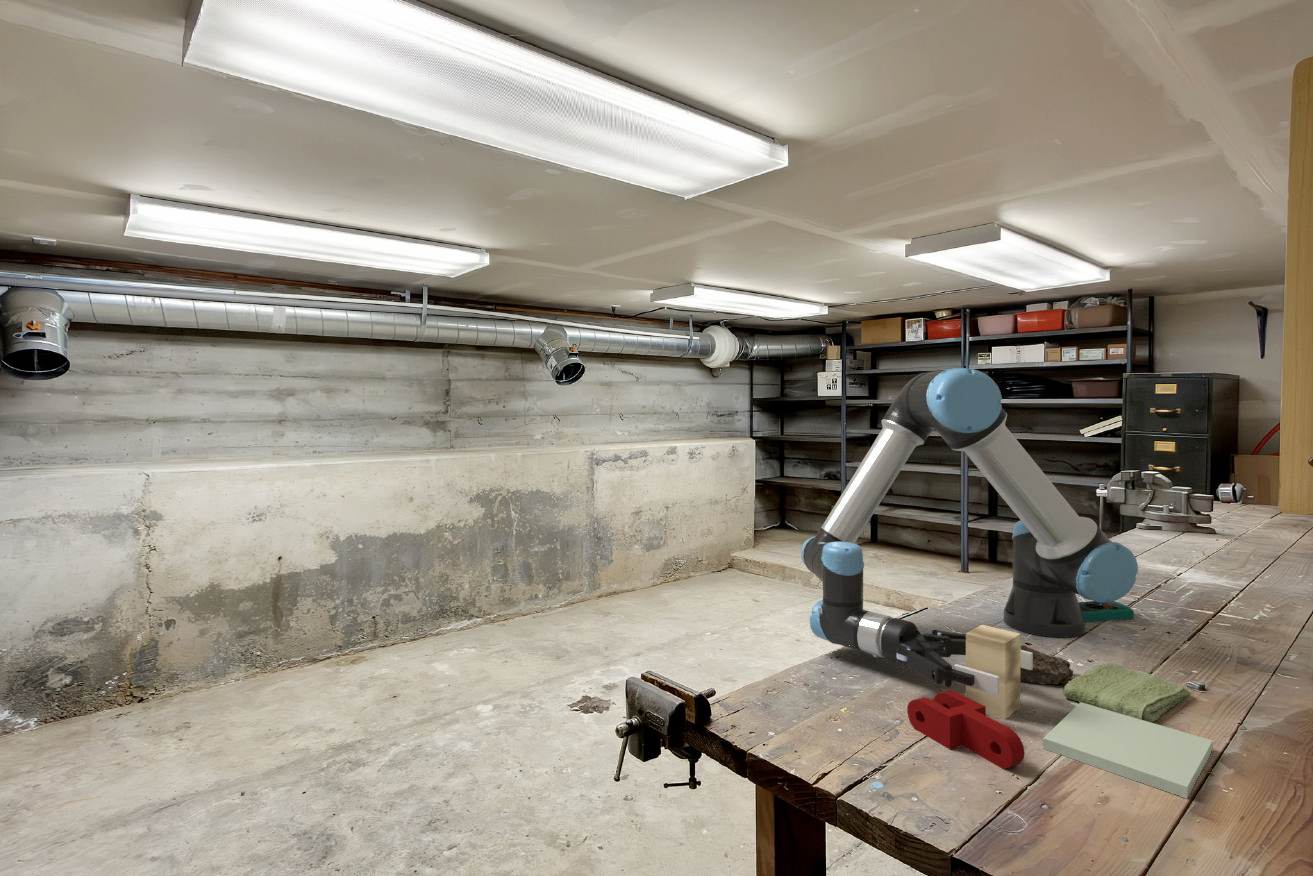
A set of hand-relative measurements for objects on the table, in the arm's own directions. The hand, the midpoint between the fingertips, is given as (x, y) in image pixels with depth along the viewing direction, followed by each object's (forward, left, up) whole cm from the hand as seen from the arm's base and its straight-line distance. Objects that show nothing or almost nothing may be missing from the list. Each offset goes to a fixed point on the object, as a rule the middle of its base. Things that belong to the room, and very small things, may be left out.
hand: (1016, 673), depth 102 cm
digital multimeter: (-61, -6, -7) cm, 61 cm away
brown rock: (-17, -3, -7) cm, 19 cm away
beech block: (0, -3, -6) cm, 7 cm away
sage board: (0, +15, -6) cm, 16 cm away
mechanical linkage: (+14, -1, -7) cm, 16 cm away
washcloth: (-19, +10, -7) cm, 22 cm away
